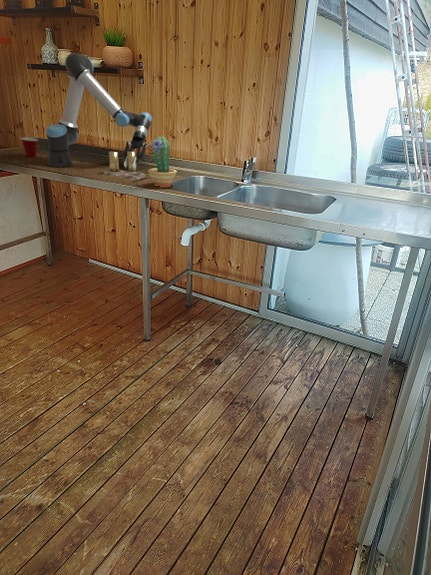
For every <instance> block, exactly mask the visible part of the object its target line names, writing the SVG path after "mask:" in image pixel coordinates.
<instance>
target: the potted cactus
mask: <svg viewBox="0 0 431 575" xmlns="http://www.w3.org/2000/svg"><path fill="white" fill-rule="evenodd" d="M150 147H151V148H152V154H153V158H154V160H155V163H156V167H154V168H153V167H152V168H150V169H148V170H147V172H148V174H149V175H150V177H151V180H152V182H153V183H154V185H155V186H154V187H156V186H160V187H159V188H169V187H171V186H172V182H173V181H174V180H175V176H176V175H177V173H178V171H177V170H176V169H172V168H170V160H169V158H170V154H171V145H170V143H169V141H168V139H167V137H165V136H157V137H156V138H155V139H154V141H153V142H152V144H151V146H150Z"/></svg>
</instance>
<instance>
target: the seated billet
mask: <svg viewBox="0 0 431 575" xmlns="http://www.w3.org/2000/svg"><path fill="white" fill-rule="evenodd" d="M108 159H109V162H108V163H109V170H110V172H114V173H117V172H119V170H120V165H119V152H118V151H108Z"/></svg>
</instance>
